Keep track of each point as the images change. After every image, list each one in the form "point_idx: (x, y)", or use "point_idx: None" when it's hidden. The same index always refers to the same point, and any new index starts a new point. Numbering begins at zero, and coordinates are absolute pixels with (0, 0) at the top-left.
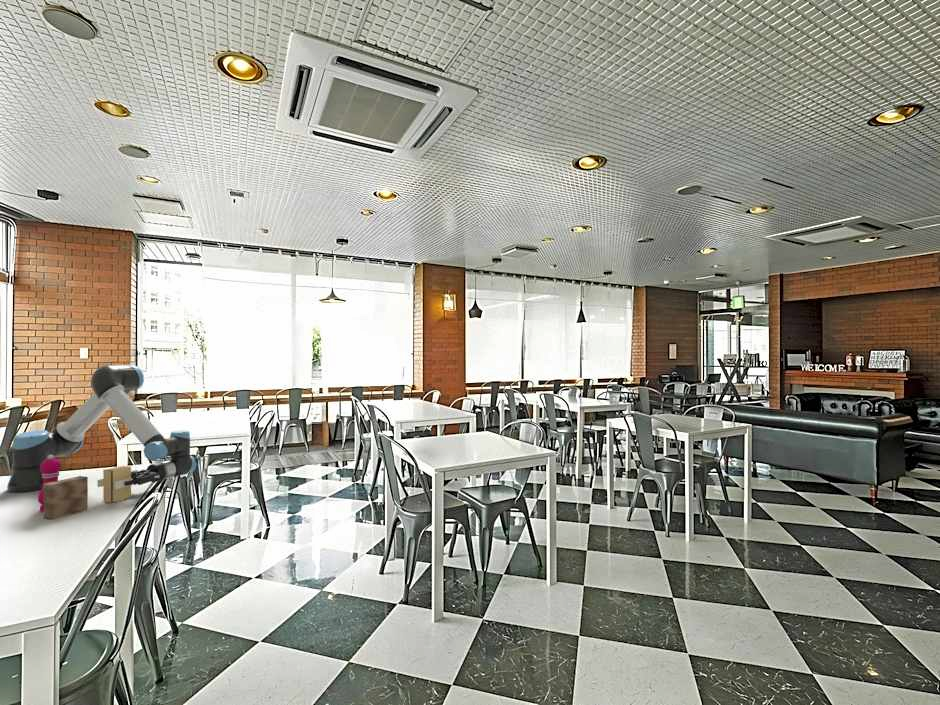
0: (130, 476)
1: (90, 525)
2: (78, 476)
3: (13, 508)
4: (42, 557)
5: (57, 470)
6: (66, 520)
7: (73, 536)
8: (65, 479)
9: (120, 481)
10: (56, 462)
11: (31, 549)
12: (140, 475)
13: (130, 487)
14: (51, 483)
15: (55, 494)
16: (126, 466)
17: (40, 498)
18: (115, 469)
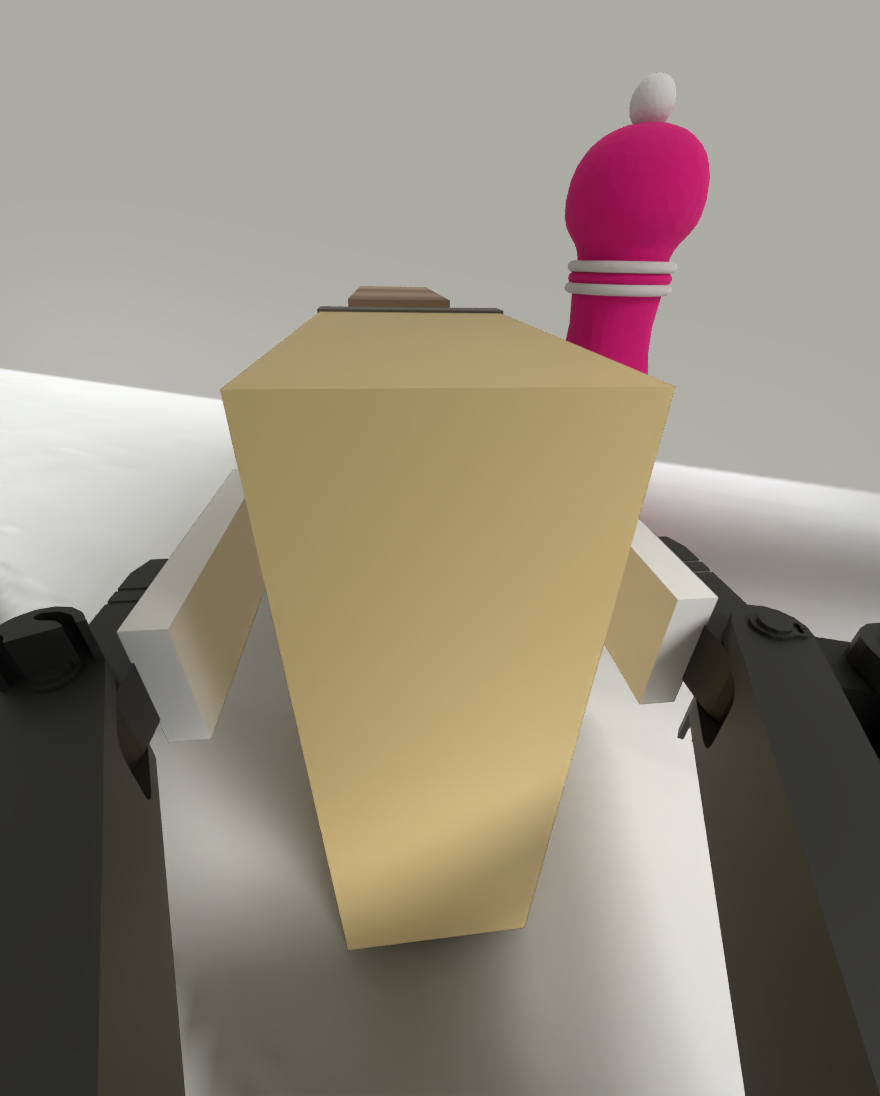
0: (296, 691)
1: (108, 482)
2: (444, 299)
3: (747, 482)
4: (69, 400)
5: (587, 240)
6: None
7: (91, 442)
8: (428, 293)
9: (212, 505)
10: (589, 154)
11: (152, 406)
12: (50, 1085)
13: (331, 855)
14: (395, 287)
15: None
16: (432, 376)
17: None
18: (356, 320)
